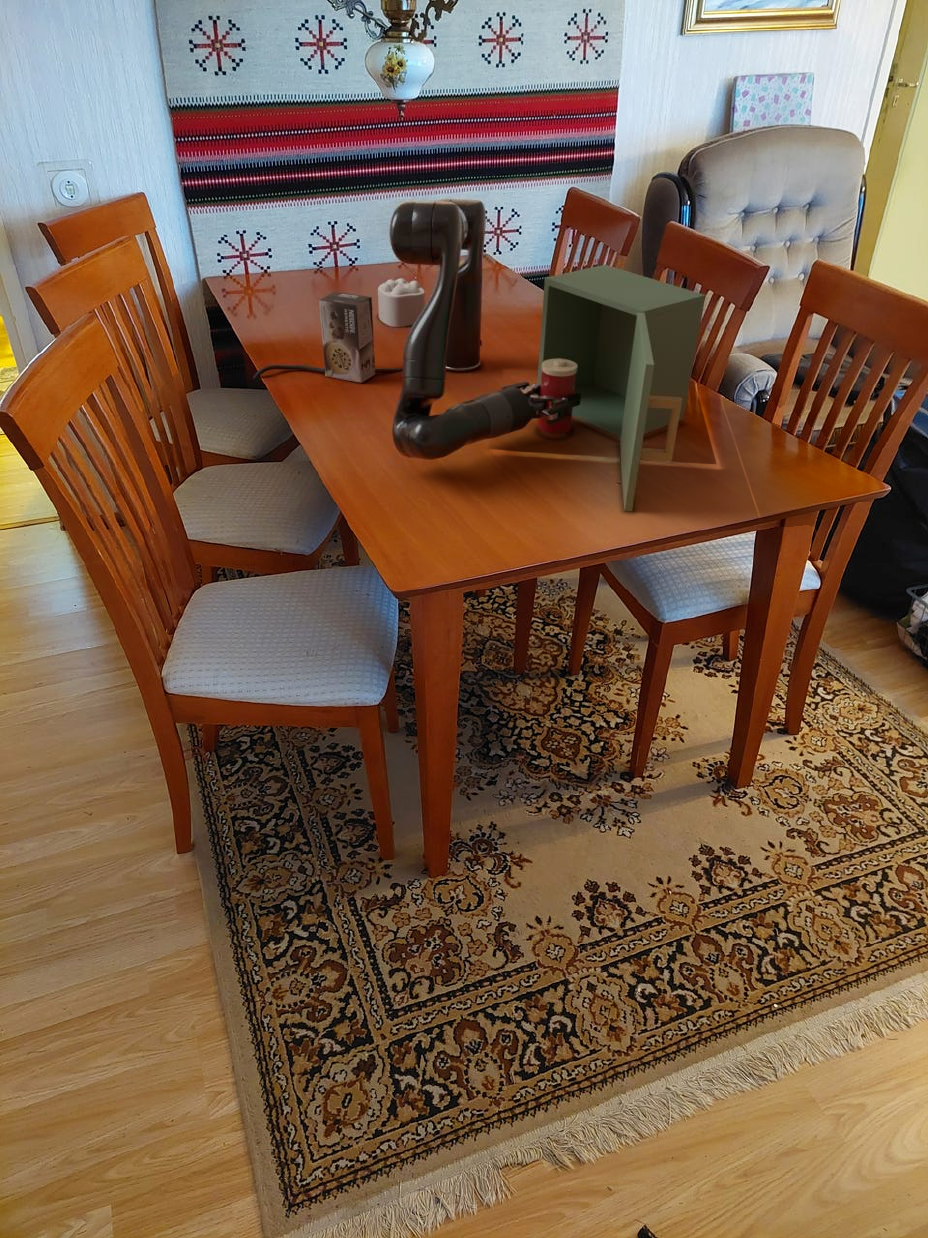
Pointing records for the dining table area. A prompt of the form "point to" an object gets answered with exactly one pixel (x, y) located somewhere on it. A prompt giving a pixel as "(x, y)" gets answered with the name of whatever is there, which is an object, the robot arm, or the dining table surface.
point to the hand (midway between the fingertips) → (566, 392)
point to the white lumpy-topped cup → (400, 302)
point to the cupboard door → (642, 414)
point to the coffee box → (347, 336)
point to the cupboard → (619, 339)
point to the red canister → (557, 390)
